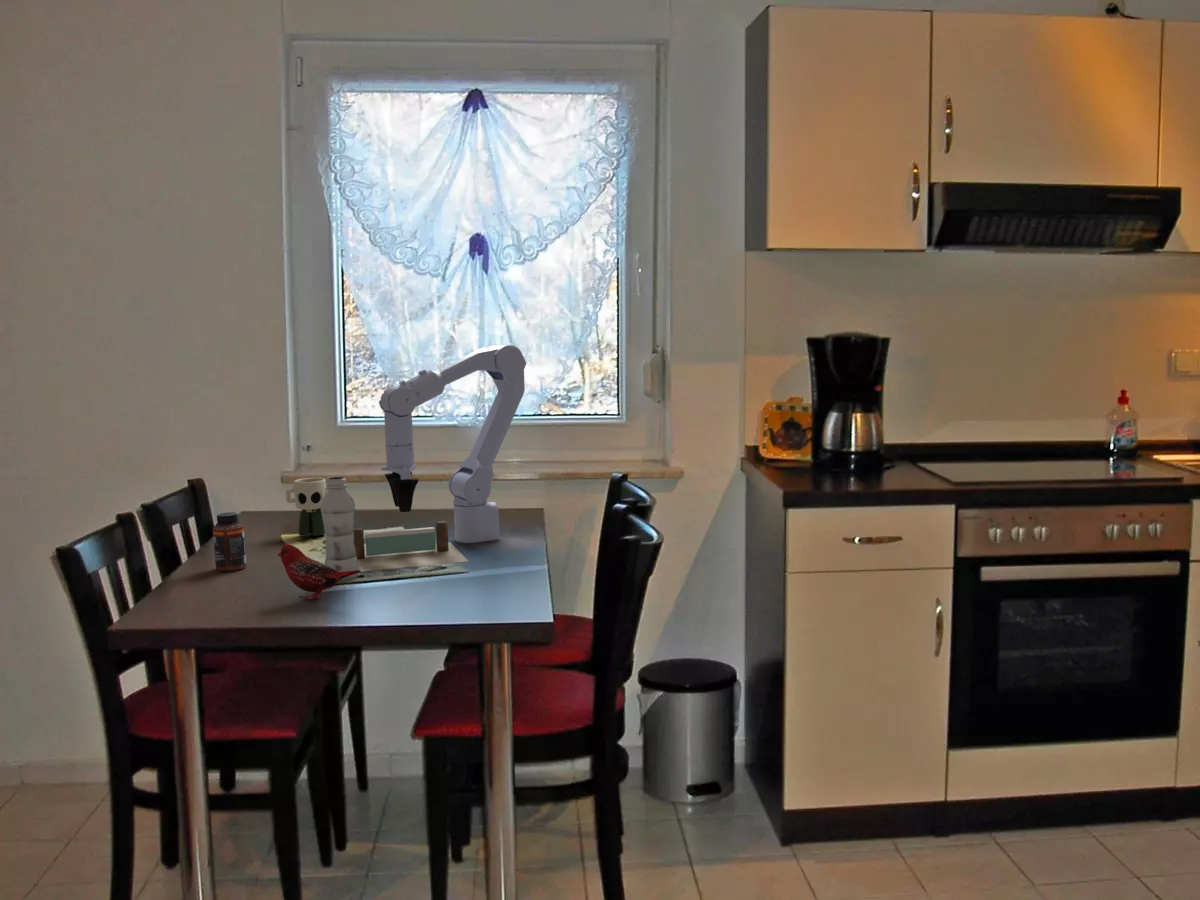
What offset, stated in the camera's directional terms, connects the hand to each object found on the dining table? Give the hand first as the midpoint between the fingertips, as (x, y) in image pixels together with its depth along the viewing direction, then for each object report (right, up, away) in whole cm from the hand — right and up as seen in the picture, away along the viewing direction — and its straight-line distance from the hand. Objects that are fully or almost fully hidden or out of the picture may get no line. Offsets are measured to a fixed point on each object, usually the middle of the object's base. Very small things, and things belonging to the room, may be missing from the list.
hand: (402, 508), depth 240 cm
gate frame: (+2, -10, -7) cm, 12 cm away
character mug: (-24, -8, +22) cm, 33 cm away
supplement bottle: (-33, -12, -9) cm, 36 cm away
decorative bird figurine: (-8, -15, -37) cm, 41 cm away
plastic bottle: (-8, -13, -23) cm, 28 cm away
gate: (+1, -9, -5) cm, 10 cm away
